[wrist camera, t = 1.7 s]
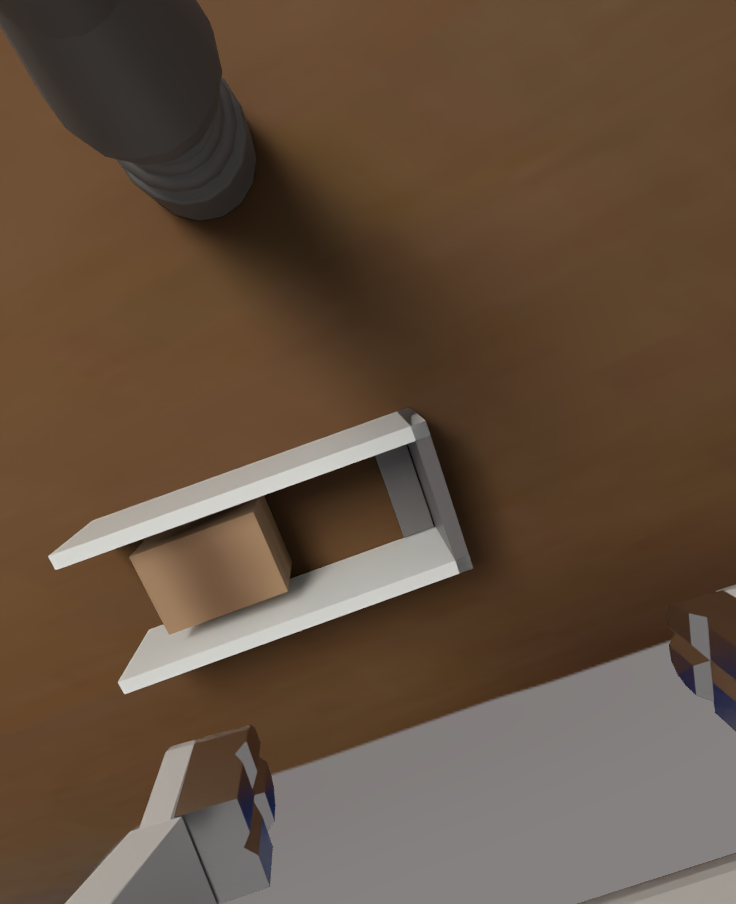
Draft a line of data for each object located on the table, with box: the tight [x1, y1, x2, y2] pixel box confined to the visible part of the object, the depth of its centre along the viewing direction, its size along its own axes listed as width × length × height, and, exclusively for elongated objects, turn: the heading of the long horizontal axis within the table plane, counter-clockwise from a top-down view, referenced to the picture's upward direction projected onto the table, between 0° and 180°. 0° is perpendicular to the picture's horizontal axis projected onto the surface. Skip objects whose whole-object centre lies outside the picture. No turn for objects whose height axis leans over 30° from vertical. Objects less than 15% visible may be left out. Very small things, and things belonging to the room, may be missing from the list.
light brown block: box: [129, 495, 292, 635], centre depth 29 cm, size 7×5×4 cm
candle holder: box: [0, 0, 256, 221], centre depth 14 cm, size 6×6×25 cm
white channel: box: [48, 407, 473, 694], centre depth 29 cm, size 20×9×5 cm, turn 109°
